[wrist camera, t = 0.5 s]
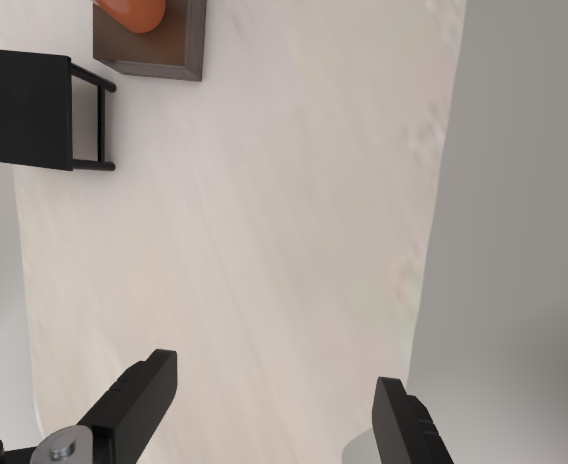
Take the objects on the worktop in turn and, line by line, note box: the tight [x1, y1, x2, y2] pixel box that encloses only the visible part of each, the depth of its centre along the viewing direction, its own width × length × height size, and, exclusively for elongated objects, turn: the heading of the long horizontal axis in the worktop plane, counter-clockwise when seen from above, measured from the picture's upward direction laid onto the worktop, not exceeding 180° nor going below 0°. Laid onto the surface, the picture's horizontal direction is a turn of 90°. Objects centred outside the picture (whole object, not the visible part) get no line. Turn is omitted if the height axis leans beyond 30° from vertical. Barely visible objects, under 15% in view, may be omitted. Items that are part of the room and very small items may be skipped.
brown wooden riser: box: [93, 0, 206, 81], centre depth 34 cm, size 12×11×5 cm
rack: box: [0, 50, 116, 171], centre depth 36 cm, size 12×12×8 cm
